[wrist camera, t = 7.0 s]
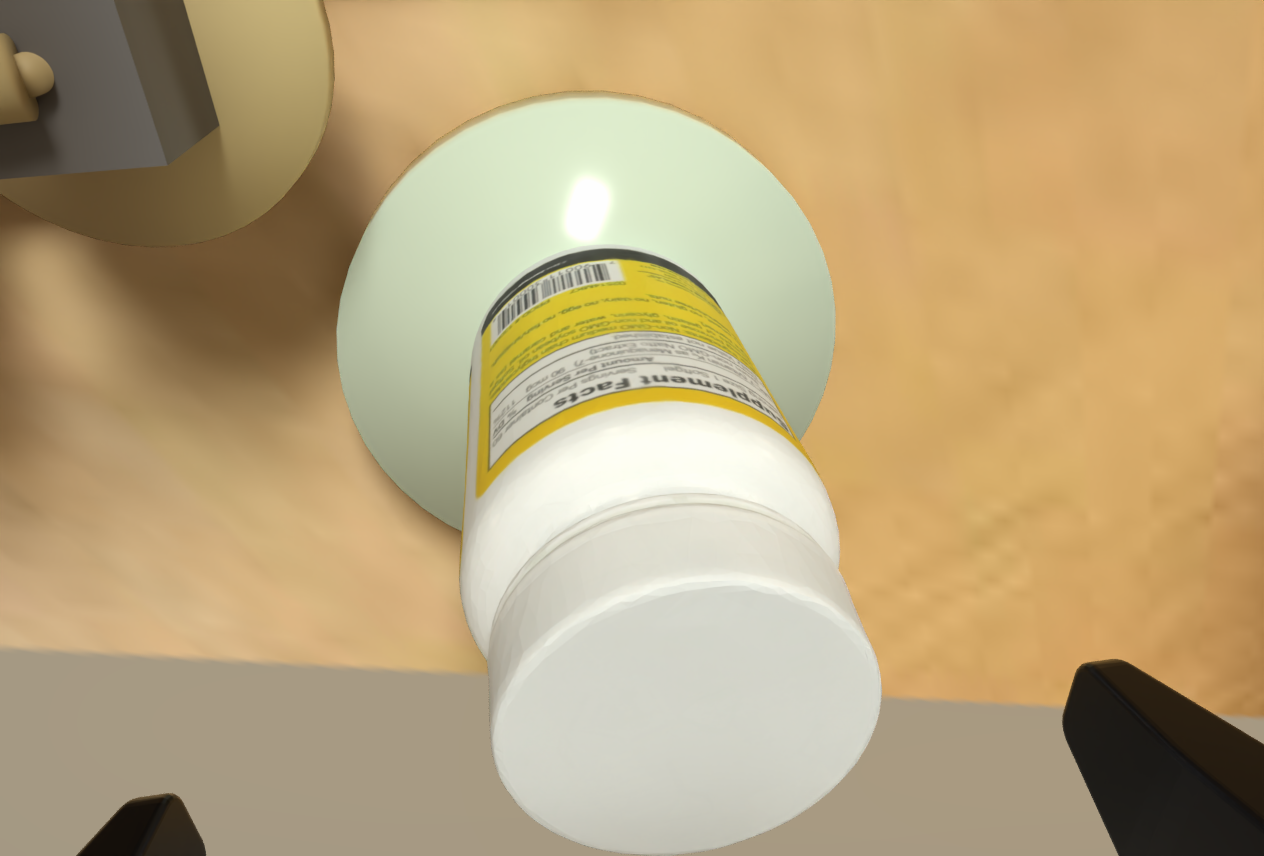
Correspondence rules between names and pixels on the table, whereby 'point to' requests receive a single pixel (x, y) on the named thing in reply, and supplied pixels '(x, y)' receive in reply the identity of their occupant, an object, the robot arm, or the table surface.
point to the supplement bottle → (651, 567)
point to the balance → (160, 112)
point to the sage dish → (550, 223)
